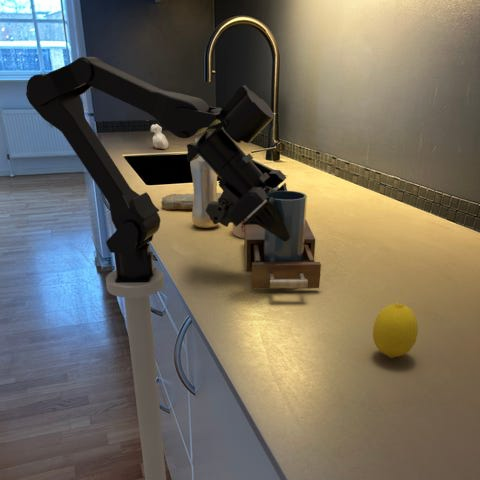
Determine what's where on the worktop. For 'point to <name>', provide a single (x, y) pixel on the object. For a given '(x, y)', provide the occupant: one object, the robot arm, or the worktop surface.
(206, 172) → the plastic bottle
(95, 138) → the robot arm
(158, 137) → the bust
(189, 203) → the elongated rock
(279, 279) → the drawer
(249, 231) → the cabinet
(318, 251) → the worktop surface
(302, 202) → the tumbler
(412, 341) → the lemon
